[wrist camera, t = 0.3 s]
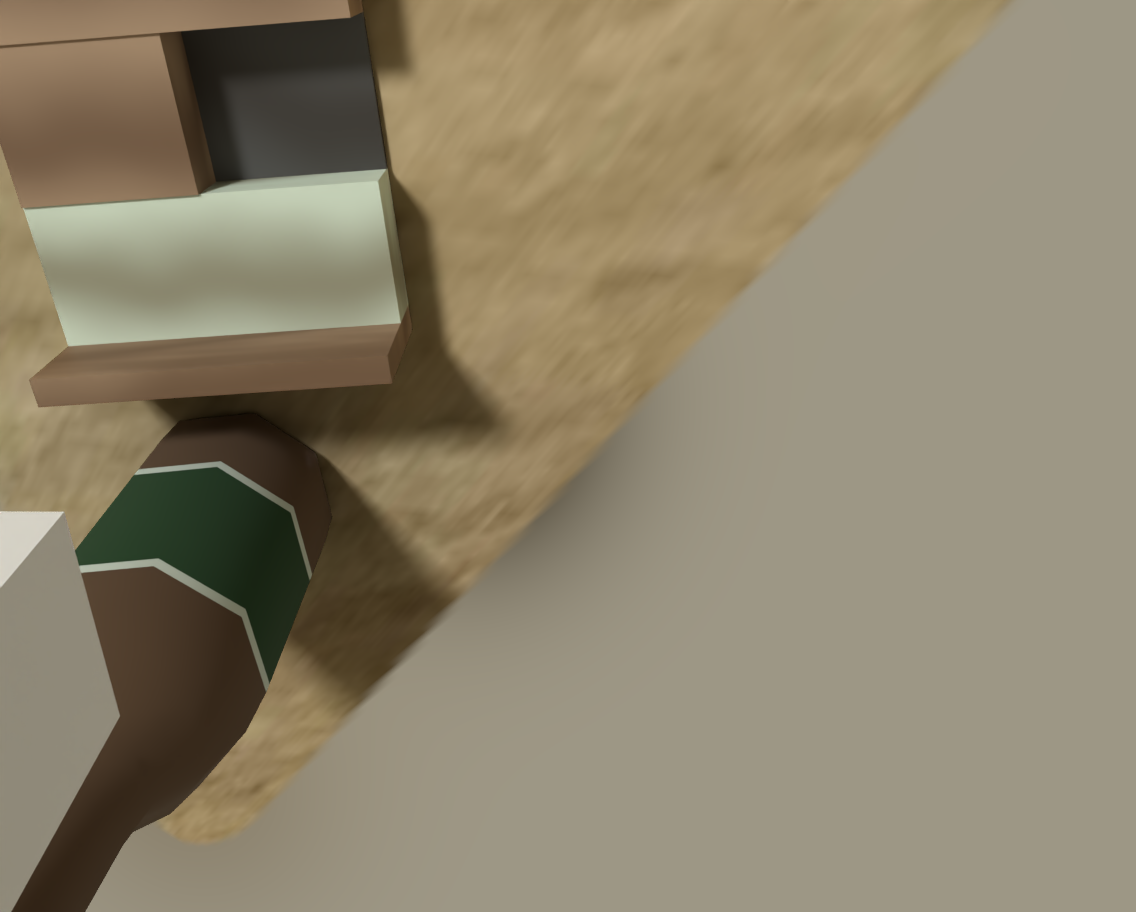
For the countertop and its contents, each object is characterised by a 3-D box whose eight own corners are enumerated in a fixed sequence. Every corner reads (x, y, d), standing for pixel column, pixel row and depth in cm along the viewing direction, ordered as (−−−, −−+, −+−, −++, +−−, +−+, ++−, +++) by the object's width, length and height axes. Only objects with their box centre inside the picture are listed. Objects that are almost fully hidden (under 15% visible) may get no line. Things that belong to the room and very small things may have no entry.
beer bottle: (137, 543, 42) (-292, 1166, 21) (154, 381, 39) (-339, 932, 18) (320, 586, 43) (85, 1220, 22) (353, 431, 40) (111, 1010, 19)
